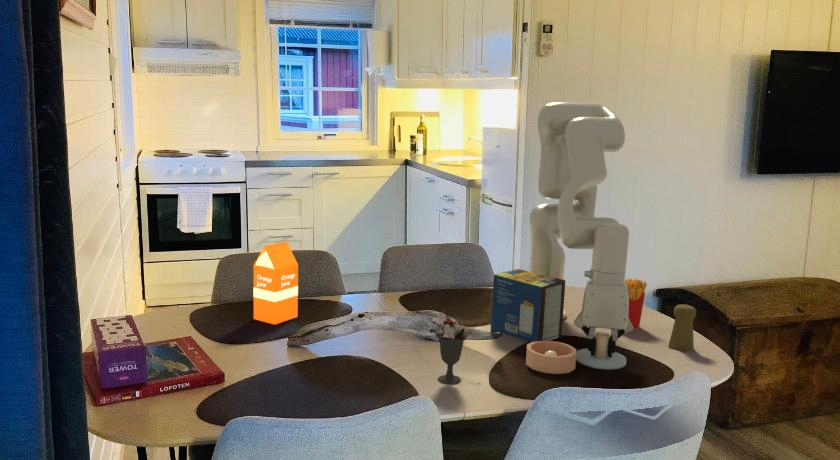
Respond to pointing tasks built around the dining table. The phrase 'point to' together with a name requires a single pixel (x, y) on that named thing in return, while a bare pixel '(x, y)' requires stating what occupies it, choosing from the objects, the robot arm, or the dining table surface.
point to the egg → (551, 353)
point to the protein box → (527, 305)
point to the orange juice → (275, 284)
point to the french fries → (635, 300)
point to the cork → (683, 329)
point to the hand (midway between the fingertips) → (600, 354)
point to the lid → (601, 355)
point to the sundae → (450, 348)
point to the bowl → (551, 357)
